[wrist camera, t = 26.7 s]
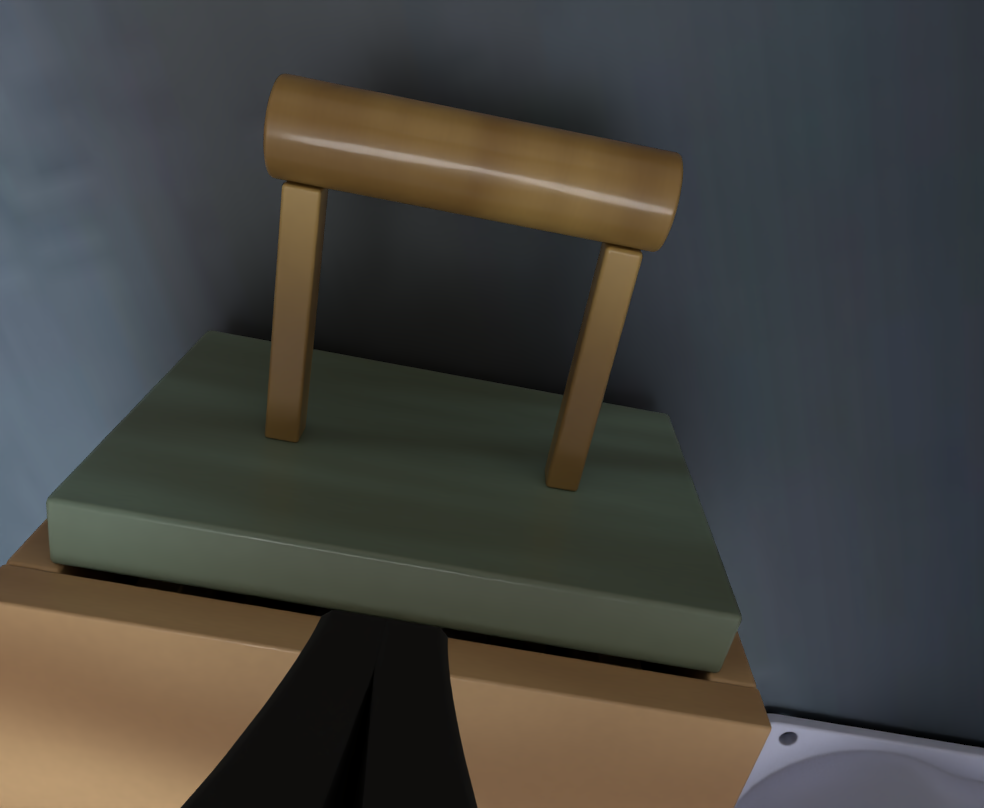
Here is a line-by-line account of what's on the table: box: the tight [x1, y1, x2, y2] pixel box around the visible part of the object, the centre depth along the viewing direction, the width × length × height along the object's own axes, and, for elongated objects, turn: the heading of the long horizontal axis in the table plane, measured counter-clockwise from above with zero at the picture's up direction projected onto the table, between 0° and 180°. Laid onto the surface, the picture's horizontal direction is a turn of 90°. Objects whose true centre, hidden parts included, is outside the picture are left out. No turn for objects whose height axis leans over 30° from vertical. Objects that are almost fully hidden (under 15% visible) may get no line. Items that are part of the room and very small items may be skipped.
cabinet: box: [0, 519, 772, 808], centre depth 18 cm, size 14×12×9 cm
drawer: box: [46, 74, 742, 673], centre depth 16 cm, size 18×10×7 cm, turn 169°
